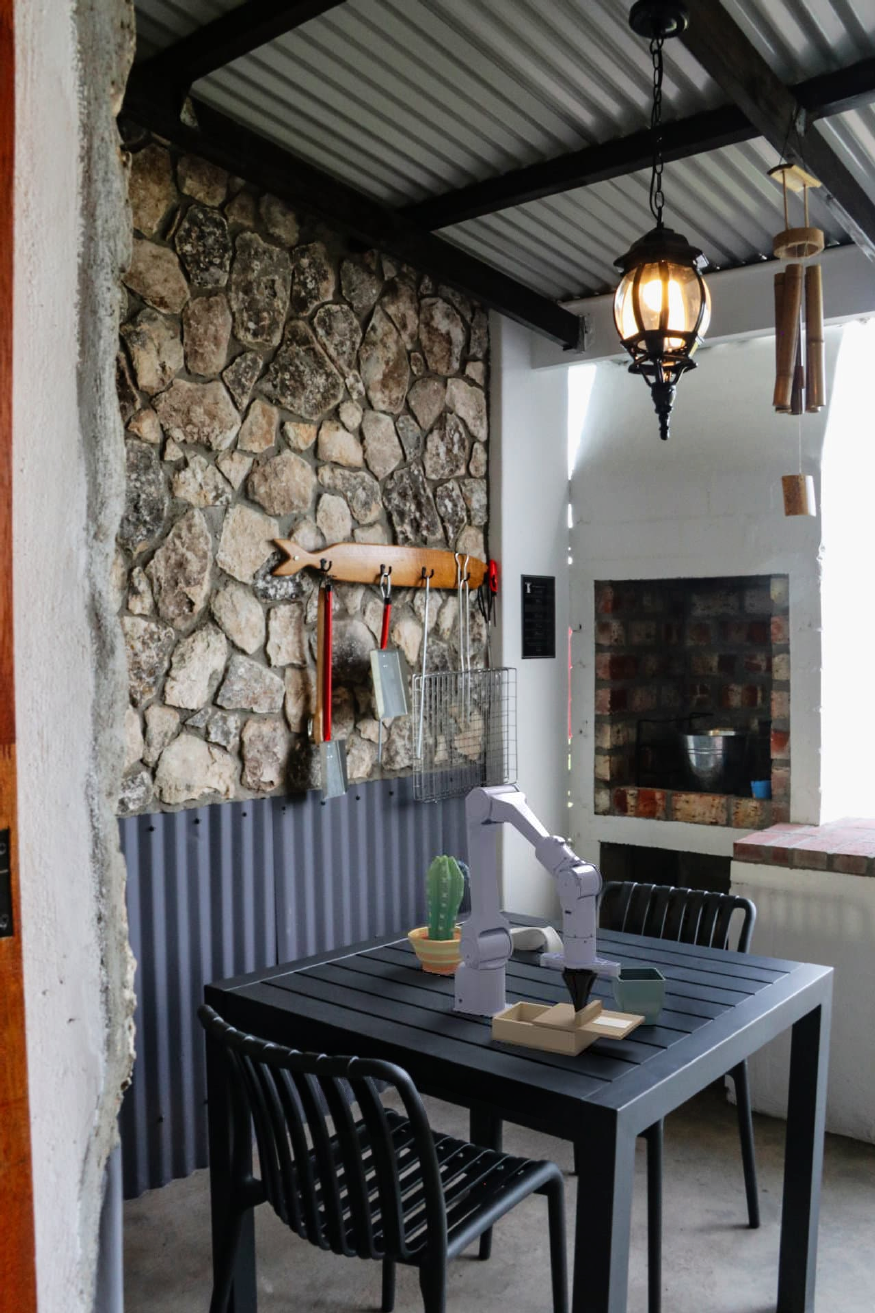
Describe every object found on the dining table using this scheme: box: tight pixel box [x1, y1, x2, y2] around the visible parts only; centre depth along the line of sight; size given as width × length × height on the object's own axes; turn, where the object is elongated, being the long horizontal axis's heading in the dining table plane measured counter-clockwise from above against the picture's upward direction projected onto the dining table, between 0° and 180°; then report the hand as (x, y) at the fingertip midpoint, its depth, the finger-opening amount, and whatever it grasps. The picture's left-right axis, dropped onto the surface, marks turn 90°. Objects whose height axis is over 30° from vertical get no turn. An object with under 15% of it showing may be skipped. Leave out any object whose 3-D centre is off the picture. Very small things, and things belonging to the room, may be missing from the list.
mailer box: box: [491, 1001, 601, 1057], centre depth 193 cm, size 16×11×4 cm
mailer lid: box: [532, 999, 645, 1041], centre depth 189 cm, size 16×12×3 cm
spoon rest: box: [510, 925, 563, 954], centre depth 252 cm, size 24×12×7 cm, turn 21°
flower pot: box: [611, 967, 667, 1026], centre depth 202 cm, size 9×9×9 cm
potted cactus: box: [407, 854, 470, 975], centre depth 239 cm, size 15×15×25 cm
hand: (580, 1011), depth 190 cm, fingers closed
